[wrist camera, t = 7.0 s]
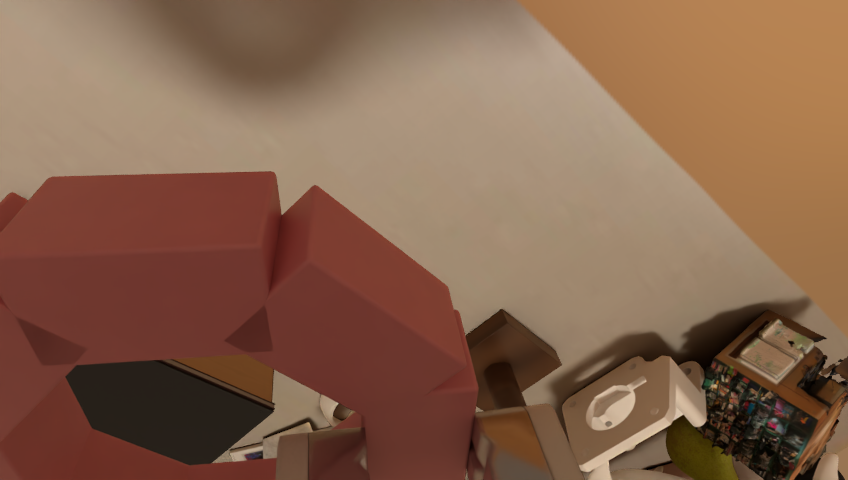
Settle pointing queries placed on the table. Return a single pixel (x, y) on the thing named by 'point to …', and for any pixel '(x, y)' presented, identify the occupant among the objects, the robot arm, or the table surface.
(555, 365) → the stand
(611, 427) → the mounting bracket
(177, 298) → the pink octagonal ring
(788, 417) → the brown boxy container
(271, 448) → the diorama
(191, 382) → the book
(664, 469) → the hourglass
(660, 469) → the fish sculpture
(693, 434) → the fruit
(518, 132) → the table surface
